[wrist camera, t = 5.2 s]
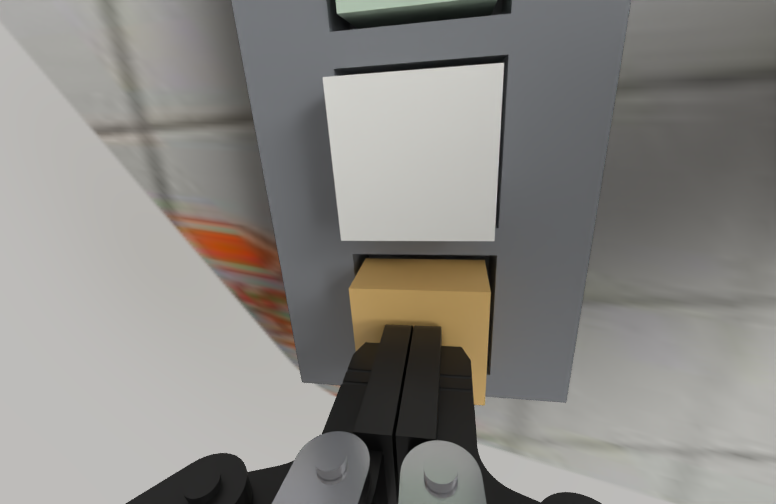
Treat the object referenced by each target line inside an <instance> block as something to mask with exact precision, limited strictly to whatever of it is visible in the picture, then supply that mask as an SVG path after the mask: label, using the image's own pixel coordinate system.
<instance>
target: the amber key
mask: <svg viewBox="0 0 776 504" xmlns="http://www.w3.org/2000/svg"><path fill="white" fill-rule="evenodd" d="M349 296H350V305H351V314H352V323H353V332H354V341H355V350H356V351H357V350H358V349H359V348H360V347H361V346H362V345H363V344H364V343H365V342H370V343H380V340H381V337H382V334H383V330H384V327H385V325H386V324H388V325H412V326H413V329H414V326H415V325H416V326H441V327H442V346H455V347H462V348H463V350H464V351H465V353H466V354H467V355H468V357H469V358H470V360H471V369H472V383H473V397H474V405H485V393H486V374H487V355H488V336H489V318H490V299H491V291H490V285H489V280H488V275H487V269H486V264H485V260H459V259H380V258H366V259H365V260H364V262H363V264H362V266H361V268H360V269H359V271H358V273H357V275H356V276H355V278H354V280H353V282H352V283H351V285H350V287H349Z"/></svg>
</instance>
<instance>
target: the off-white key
mask: <svg viewBox="0 0 776 504" xmlns="http://www.w3.org/2000/svg"><path fill="white" fill-rule="evenodd" d="M503 75H504V63H494V64H482V65H469V66H456V67H444V68H431V69H419V70H406V71H393V72H381V73H368V74H355V75H343V76H330V77H323V86H324V95H325V104H326V113H327V121H328V130H329V139H330V148H331V156H332V165H333V174H334V183H335V192H336V200H337V209H338V218H339V227H340V236H341V241H495V222H496V204H497V185H498V167H499V148H500V130H501V112H502V93H503Z"/></svg>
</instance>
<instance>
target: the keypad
mask: <svg viewBox="0 0 776 504" xmlns="http://www.w3.org/2000/svg"><path fill="white" fill-rule="evenodd" d="M231 2H232V7H233V13H234V18H235V23H236V29H237V34H238V40H239V45H240V50H241V56H242V61H243V67H244V72H245V77H246V83H247V88H248V93H249V99H250V104H251V110H252V115H253V120H254V126H255V131H256V137H257V142H258V147H259V153H260V158H261V164H262V169H263V174H264V180H265V185H266V191H267V196H268V201H269V207H270V212H271V217H272V223H273V228H274V234H275V239H276V244H277V250H278V255H279V261H280V266H281V271H282V277H283V282H284V288H285V293H286V298H287V304H288V309H289V315H290V320H291V325H292V331H293V336H294V341H295V347H296V352H297V358H298V363H299V368H300V374H301V379H302V382H304V383H317V384H330V385H341V384H343V379H344V376H345V374H346V372H347V370H348V366H349V364H350V361H351V358H352V356H353V354H354V353H355V352H356V350H355V341H354V332H353V323H352V314H351V305H350V296H349V287H350V285H351V283H352V282H353V280H354V278H355V276H356V275H357V273H358V271H359V269H360V268H361V266H362V264H363V262H364V260H365V259H366V258H380V259H459V260H485V264H486V269H487V275H488V280H489V285H490V291H491V299H490V318H489V336H488V355H487V374H486V393H485V396H486V397H499V398H513V399H526V400H539V401H552V402H565V403H566V401H567V394H568V388H569V382H570V376H571V370H572V364H573V357H574V351H575V345H576V339H577V333H578V326H579V320H580V314H581V308H582V302H583V295H584V289H585V283H586V277H587V271H588V265H589V258H590V252H591V246H592V240H593V234H594V227H595V221H596V215H597V209H598V203H599V196H600V190H601V184H602V178H603V172H604V166H605V159H606V153H607V147H608V141H609V135H610V128H611V122H612V116H613V110H614V104H615V97H616V91H617V85H618V79H619V73H620V66H621V60H622V54H623V48H624V42H625V36H626V29H627V23H628V17H629V11H630V5H631V0H497V2H496V5H495V7H494V9H493V12H492V14H491V16H481V17H471V18H461V19H452V20H442V21H432V22H422V23H412V24H402V25H393V26H383V27H373V28H363V29H357V28H356V27H354V26H353V25H352V24H350V23H349V22H348V21H346V20H345V19H343V18H342V17H341V16H339V15H338V14H337V10H336V0H231ZM494 63H504V75H503V93H502V112H501V130H500V148H499V167H498V185H497V204H496V222H495V241H341V236H340V227H339V218H338V209H337V200H336V192H335V183H334V174H333V165H332V156H331V148H330V139H329V130H328V121H327V113H326V104H325V95H324V86H323V77H330V76H343V75H355V74H368V73H381V72H393V71H406V70H419V69H431V68H444V67H456V66H469V65H482V64H494Z"/></svg>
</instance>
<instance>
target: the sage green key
mask: <svg viewBox="0 0 776 504" xmlns="http://www.w3.org/2000/svg"><path fill="white" fill-rule="evenodd" d="M496 2H497V0H336V10H337V14H338V15H339V16H341V17H342V18H343V19H345V20H346V21H348V22H349V23H350V24H352V25H353V26H354V27H356V28H357V29H363V28H373V27H383V26H393V25H402V24H412V23H422V22H432V21H442V20H452V19H461V18H471V17H481V16H491V14H492V12H493V9H494V7H495V5H496Z"/></svg>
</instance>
